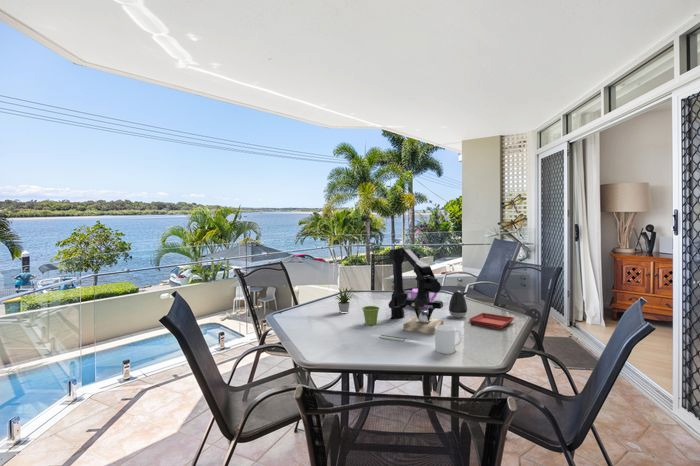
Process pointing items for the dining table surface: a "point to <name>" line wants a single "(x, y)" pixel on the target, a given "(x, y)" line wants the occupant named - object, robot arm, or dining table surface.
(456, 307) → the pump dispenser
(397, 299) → the robot arm
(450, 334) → the cup
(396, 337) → the mat
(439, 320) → the housing
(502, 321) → the plant saucer
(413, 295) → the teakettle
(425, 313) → the grey metallic cylinder
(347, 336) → the dining table surface
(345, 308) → the house plant
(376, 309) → the plant pot
